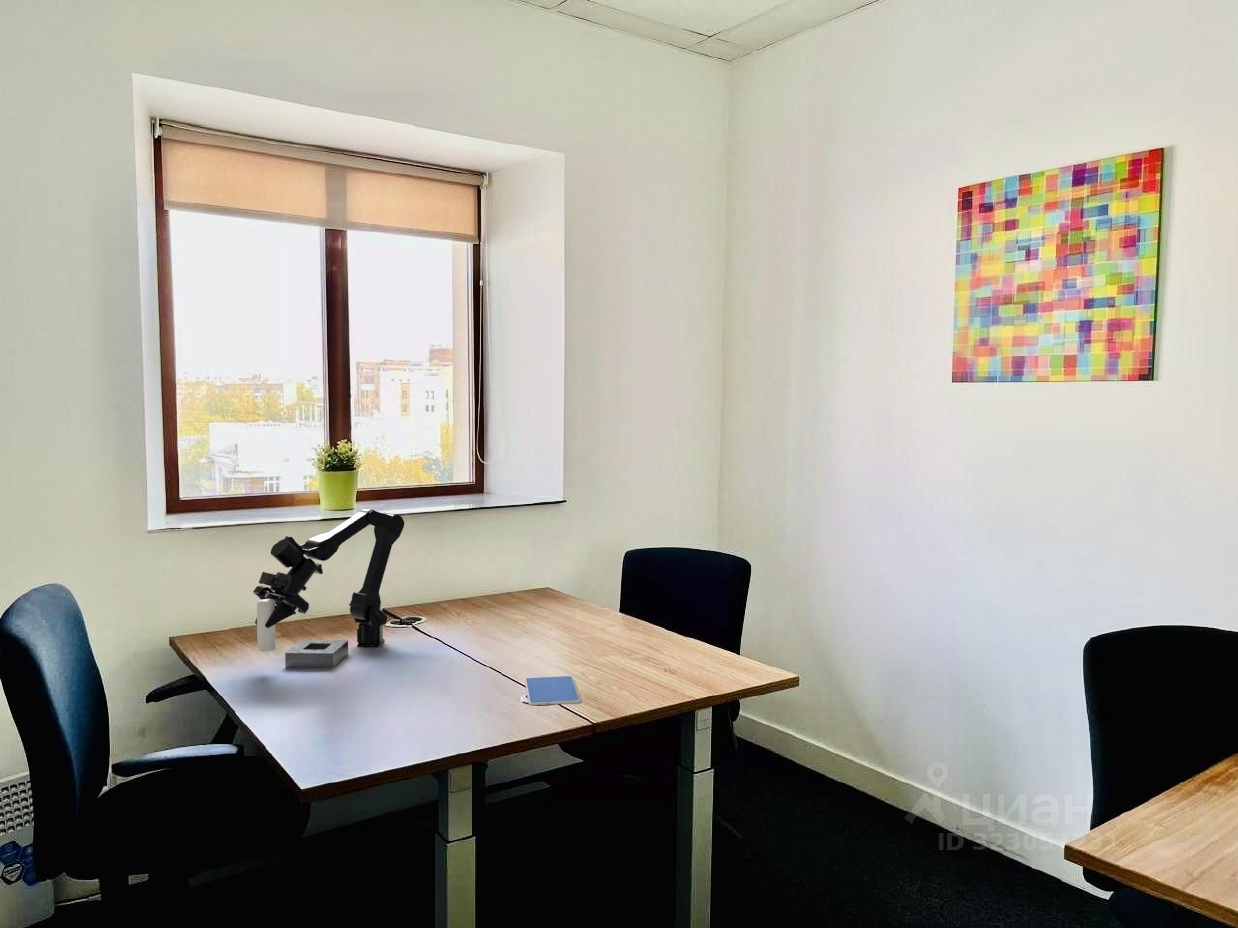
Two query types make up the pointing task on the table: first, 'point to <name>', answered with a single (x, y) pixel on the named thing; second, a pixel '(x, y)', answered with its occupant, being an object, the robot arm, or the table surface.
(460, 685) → the table surface
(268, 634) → the peg
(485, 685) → the table surface
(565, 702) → the tablet computer
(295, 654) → the collar
